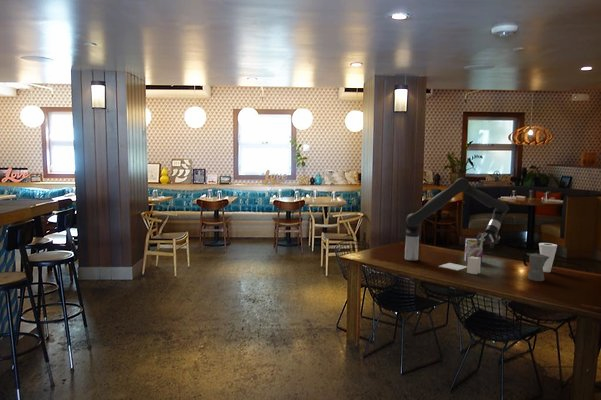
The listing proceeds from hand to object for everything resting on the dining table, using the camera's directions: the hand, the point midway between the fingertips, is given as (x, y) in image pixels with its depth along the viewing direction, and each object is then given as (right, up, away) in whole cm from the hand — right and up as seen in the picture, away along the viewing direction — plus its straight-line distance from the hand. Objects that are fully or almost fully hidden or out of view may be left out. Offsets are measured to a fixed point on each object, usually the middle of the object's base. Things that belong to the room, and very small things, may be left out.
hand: (484, 246), depth 297 cm
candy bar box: (+2, -13, +24) cm, 27 cm away
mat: (-18, -15, +8) cm, 24 cm away
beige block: (-10, -16, -7) cm, 20 cm away
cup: (+41, -16, -1) cm, 44 cm away
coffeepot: (+23, -18, -19) cm, 35 cm away
